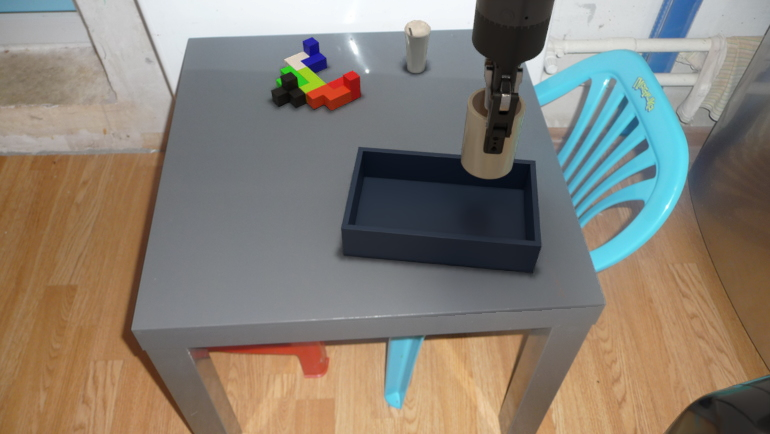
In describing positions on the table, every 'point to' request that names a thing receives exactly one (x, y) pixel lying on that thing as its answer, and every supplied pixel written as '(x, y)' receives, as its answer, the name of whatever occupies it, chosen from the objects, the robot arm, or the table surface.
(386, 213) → the navy tray
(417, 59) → the milkshake
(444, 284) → the table surface
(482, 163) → the cup
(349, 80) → the building blocks
